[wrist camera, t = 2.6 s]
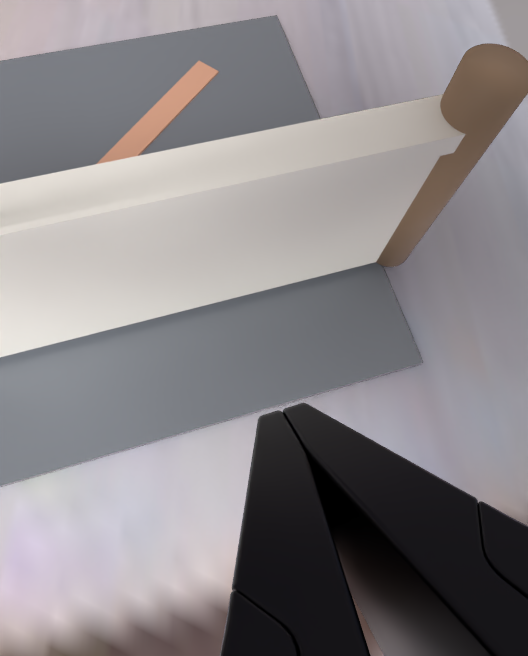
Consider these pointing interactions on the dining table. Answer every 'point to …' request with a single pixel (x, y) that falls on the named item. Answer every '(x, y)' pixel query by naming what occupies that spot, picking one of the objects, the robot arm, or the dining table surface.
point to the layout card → (194, 324)
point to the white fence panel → (242, 209)
